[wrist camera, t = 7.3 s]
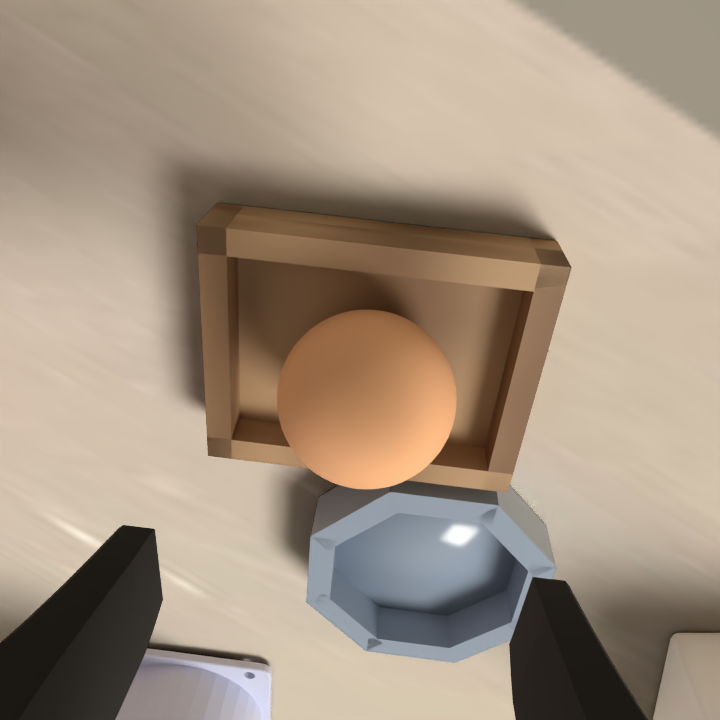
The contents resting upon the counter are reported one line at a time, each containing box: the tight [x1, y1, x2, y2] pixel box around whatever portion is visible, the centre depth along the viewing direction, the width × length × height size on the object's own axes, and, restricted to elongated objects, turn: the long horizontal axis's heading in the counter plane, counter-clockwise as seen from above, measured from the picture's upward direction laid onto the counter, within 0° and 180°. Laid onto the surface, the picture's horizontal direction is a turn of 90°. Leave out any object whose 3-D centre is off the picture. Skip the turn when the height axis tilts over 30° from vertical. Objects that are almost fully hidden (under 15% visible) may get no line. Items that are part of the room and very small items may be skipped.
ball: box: [277, 309, 457, 489], centre depth 18 cm, size 5×5×5 cm
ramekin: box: [306, 480, 556, 663], centre depth 24 cm, size 9×9×2 cm
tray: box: [196, 203, 571, 493], centre depth 19 cm, size 10×8×2 cm
